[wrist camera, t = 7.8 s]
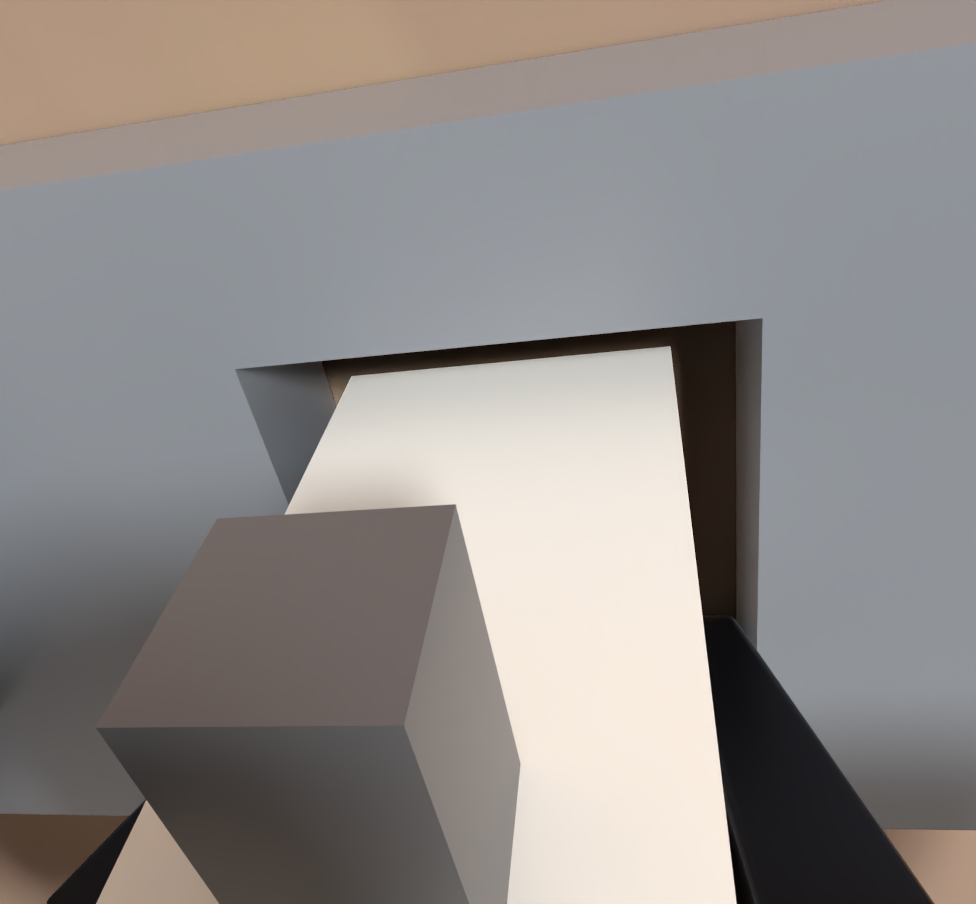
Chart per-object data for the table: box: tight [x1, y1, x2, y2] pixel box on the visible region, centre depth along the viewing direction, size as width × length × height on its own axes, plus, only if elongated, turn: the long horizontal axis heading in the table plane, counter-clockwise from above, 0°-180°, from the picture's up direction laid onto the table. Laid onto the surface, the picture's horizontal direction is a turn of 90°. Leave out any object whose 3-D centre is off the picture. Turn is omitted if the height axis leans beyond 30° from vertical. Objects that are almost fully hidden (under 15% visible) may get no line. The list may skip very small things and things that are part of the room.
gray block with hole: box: [0, 0, 976, 830], centre depth 10 cm, size 22×10×5 cm, turn 100°
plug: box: [96, 346, 737, 904], centre depth 7 cm, size 4×6×7 cm, turn 10°
